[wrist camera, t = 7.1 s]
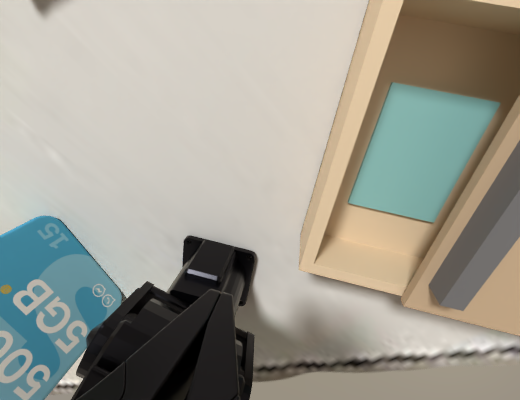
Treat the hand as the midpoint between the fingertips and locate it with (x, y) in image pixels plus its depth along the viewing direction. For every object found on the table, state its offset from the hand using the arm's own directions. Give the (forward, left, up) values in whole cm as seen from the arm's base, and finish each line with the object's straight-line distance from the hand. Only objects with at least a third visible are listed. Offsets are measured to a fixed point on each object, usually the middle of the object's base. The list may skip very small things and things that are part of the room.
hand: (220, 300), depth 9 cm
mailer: (+4, -10, -12) cm, 16 cm away
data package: (-14, +18, -12) cm, 26 cm away
